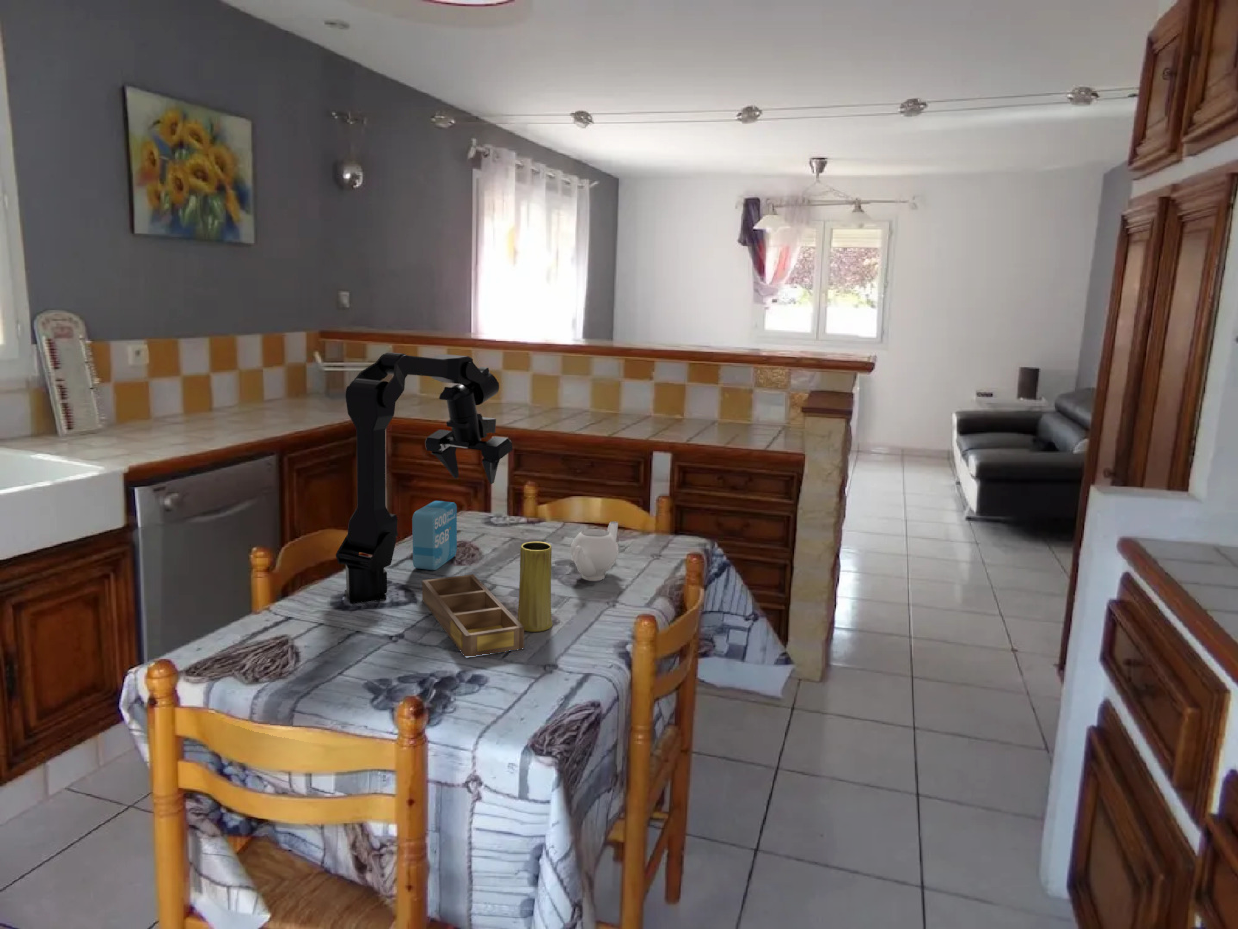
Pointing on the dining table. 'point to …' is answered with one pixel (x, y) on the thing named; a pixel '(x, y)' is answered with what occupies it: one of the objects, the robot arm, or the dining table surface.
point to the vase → (535, 586)
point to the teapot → (595, 551)
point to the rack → (472, 615)
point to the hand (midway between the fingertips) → (474, 480)
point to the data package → (434, 535)
